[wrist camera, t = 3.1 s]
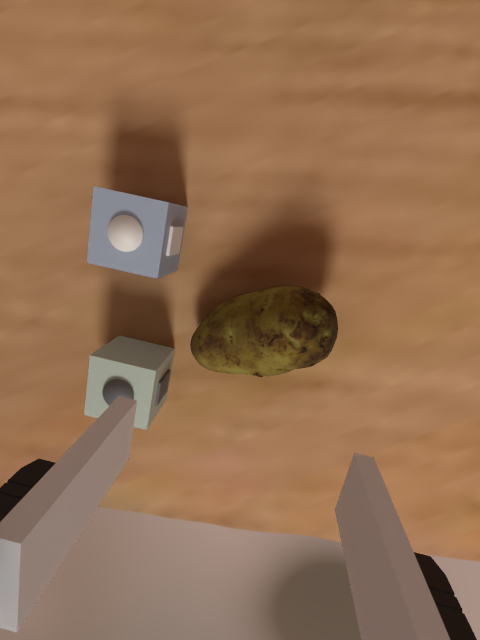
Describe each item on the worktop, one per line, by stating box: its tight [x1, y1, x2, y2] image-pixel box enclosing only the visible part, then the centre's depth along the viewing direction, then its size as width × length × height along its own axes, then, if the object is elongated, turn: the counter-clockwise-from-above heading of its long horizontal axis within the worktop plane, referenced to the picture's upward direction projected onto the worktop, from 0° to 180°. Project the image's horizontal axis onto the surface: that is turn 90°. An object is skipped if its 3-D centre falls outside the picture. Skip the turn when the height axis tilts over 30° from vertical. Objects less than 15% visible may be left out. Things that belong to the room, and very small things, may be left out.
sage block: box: [84, 335, 175, 430], centre depth 34 cm, size 6×6×6 cm
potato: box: [191, 286, 338, 377], centre depth 31 cm, size 8×13×8 cm, turn 90°
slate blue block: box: [87, 186, 187, 279], centre depth 31 cm, size 6×6×6 cm
